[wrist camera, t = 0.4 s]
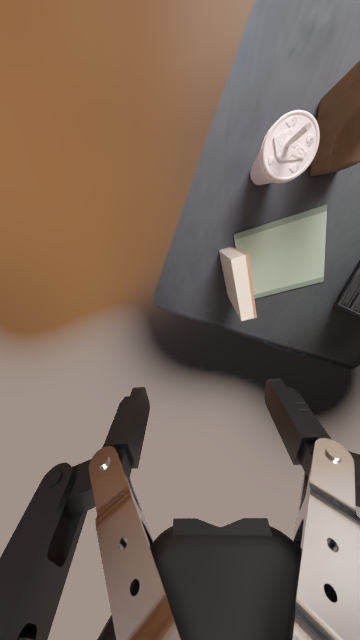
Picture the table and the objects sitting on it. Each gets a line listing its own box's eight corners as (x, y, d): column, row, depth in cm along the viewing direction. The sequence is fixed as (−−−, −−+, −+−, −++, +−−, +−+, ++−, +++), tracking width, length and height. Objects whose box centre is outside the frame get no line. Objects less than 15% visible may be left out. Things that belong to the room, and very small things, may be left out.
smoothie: (255, 137, 28) (308, 62, 15) (290, 156, 28) (368, 100, 16) (234, 185, 30) (265, 154, 18) (267, 201, 31) (317, 182, 19)
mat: (325, 204, 31) (327, 204, 31) (322, 281, 37) (323, 281, 37) (233, 234, 34) (233, 234, 34) (243, 300, 40) (244, 301, 39)
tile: (230, 246, 35) (248, 254, 24) (238, 293, 39) (256, 317, 28) (218, 250, 35) (230, 259, 25) (227, 296, 40) (241, 321, 29)
